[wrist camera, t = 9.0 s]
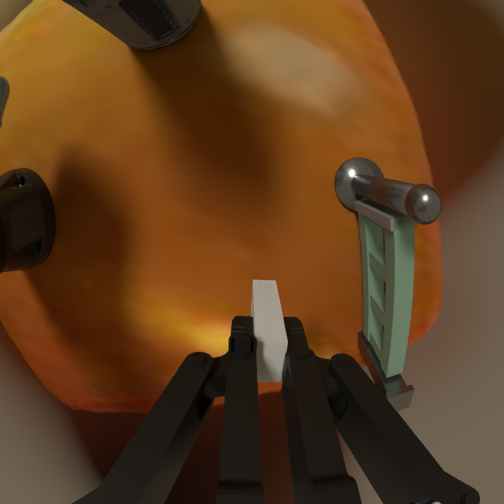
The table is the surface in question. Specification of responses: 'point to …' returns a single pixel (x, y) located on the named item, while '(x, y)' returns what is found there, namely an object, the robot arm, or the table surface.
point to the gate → (393, 273)
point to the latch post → (388, 386)
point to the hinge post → (386, 191)
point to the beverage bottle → (142, 19)
